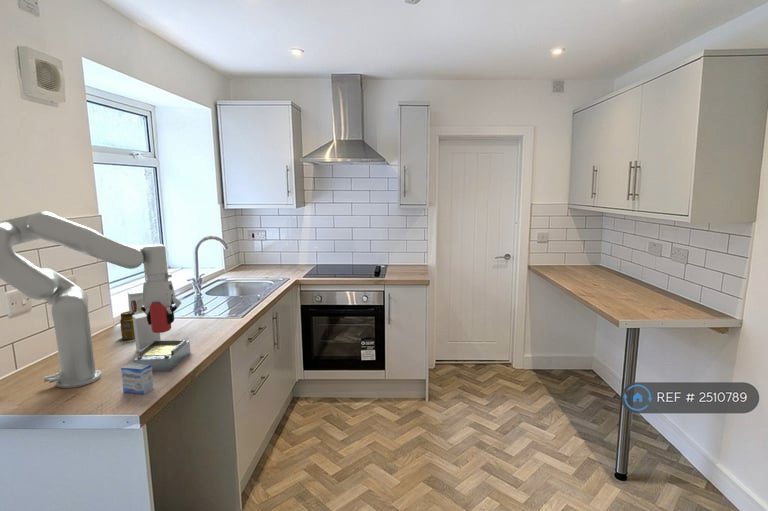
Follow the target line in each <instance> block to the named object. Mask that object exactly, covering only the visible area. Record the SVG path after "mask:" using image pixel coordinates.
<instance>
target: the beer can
mask: <svg viewBox="0 0 768 511" xmlns="http://www.w3.org/2000/svg"><path fill="white" fill-rule="evenodd" d="M167 314H169V313H168V311H167V309H166V307H164V306H163V305H162V304H161V303H160V302H152V304H151V305H150V318H151V328H152V332H154V333H160V334H163V333H167V332H168V331H171V329H172V323H171V324H168V318H167Z"/></svg>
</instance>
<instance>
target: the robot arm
mask: <svg viewBox="0 0 768 511" xmlns="http://www.w3.org/2000/svg"><path fill="white" fill-rule="evenodd" d="M39 239H40V240H44V241H47V242H50V243H52V244H56V245H59V246H62V247H65V248H68V249H71V250H74V251H75V252H79V253H82V254H84V255H87V256H90V257H93V258H96V259H98V260H101V261H103V262H106V263H109V264H111V265H115V266H118V267H120V268H124V269H130V270H132V269H136V268H139V267H140V266H142V264H143V269H144V279H145V280H144V281H143V286H142V289H143V299H142V300H141V301H140V302H139V303H138V304H137V306H138V307H139V308H141V310H142V311H144V312H145V314H146V315H147V322H148V324H149V325H150V324H151V318H150V305H151V304H152V302H160V303H161V304H162V305H163V306H164V307H166V309H167V311H168V313H169V314H167V318H168V324H171V325H172V323H174V321H175V312H176V310H177V309H178V308H179V307H180V306H181V304H182V301H181V300H180V299H178V298H176V295H175V290H174V286H173V282H172V279H170V278H172V273H169V271H168V262H167V261H168V260H167V252H166V247H165V245H164V244H159V243H153V244H151V243H150V244H147V245H140V244H139V245H135V244H124V243H121V242H119V241H116V240H114V239H111V238H110V237H109V238H108V237H106V236H104V235H103V234H101V233H100V232H98V231H97V230H94V229H92V228H90V227H87V226H85V225H83V224H79V223H77V222H73V221H71V220H68V219H66V218H63V217H61V216H58V215H57V214H55V213H53V212H50V211H38V212H35V213H31V214H28V215H23V216H18V217H14V218H11V219H10V218H9V219H6V220H1V221H0V280H2V281H3V282H5V283H6V284H8V285H9V286H11V287H13V288H14V289H16V290H17V291H18V292H20V293H22V294H23V295H24V296H26V297H28V298H30V299H32V300H38V301H40V300H44V301H45V302H46V303H49V304H50V305H51V317H52V322H53V325H54V326H53V327H54V332H55V340H56V345H57V355H58V361H59V368H60V369H58V372H55V373H54V374H49V375H45V376H43V382H44V383H47V382H49V383H50V384H51V383H55V385H56V386H57V387H58V388H61V389H73V388H77V387H81V386H86V385H89V384H91V383H93V382H96V381H98V380H99V379H100V378H101V377H102V371H101V370H99V369H96V365H95V355H94V348H93V347H94V346H93V340H92V339H93V338H92V333H91V332H92V329H91V323H90V315H89V314H90V313H89V296H88V294H87V293H86V291H85V290H83V289H82V288H81V287H80V286H78V285H76V284H75V283H74V282H72V281H71V280H70V279H67V278H66V277H65V276H63V275H62V274H60V273H59V272H57V271H55V270H54V269H52V268H49V267H38V266H36V265H35V264H33V263H32V262H31V261H29V260H28V259H26V258H25V257H23V256H22V255H20V254H18V253H17V252H15V251H14V250H13V248H12V247H13V246H17V245H20V244H25V243H29V242H32V241H37V240H39ZM143 304H144V305H143ZM174 304H175V305H174ZM173 305H174V306H173Z"/></svg>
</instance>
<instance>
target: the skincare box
mask: <svg viewBox="0 0 768 511" xmlns="http://www.w3.org/2000/svg"><path fill="white" fill-rule="evenodd" d="M132 317H133V325H134V333H135V340H134V342H135V347H136V349H135V350H136V351H137V352H138V353H139V351H140V350H142V349H143V348H145V347H146V346H147V345H149V344H150V343H152V342H153V341H154V340H162V339H161V333H154V332H152V328H151V324H150V325H149V324H148V322H147V315H146V314H145V313H141V314H136V315H132Z"/></svg>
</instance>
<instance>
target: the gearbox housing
mask: <svg viewBox="0 0 768 511" xmlns="http://www.w3.org/2000/svg"><path fill="white" fill-rule="evenodd" d="M190 344H191V343H190V340H187V339H161V340H154V341H153V342H152V343H150V344H149V345H147V346H146V347H145V348H143V349H142V350H140V351H139V352H138V356H137V357H136V358H134V359H133V363H135V364H148V365H151V366H152V373H166V372H167V373H170V372H172V371H173V370H174V369H175V368H176V367H177V366H178V365H179V364H180V363H182V361H184V360H185V359H186V358H187V356H189V355H190V354H191V345H190Z"/></svg>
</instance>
